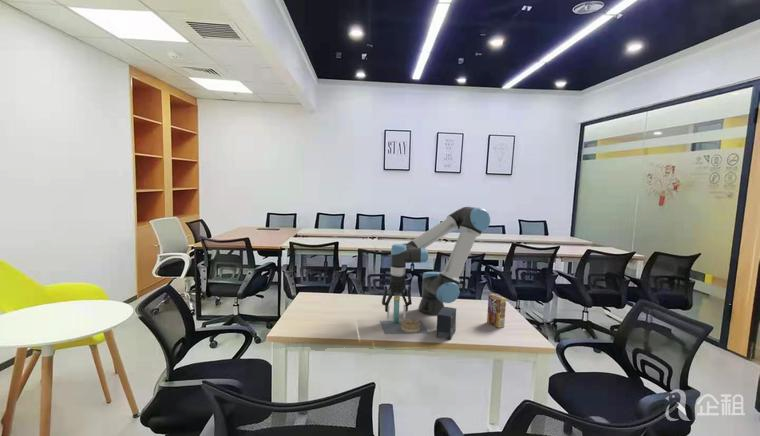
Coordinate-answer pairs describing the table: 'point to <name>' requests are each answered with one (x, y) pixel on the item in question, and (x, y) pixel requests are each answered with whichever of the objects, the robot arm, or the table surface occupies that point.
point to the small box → (446, 323)
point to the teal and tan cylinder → (396, 309)
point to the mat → (396, 328)
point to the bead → (410, 325)
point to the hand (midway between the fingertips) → (396, 317)
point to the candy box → (496, 310)
